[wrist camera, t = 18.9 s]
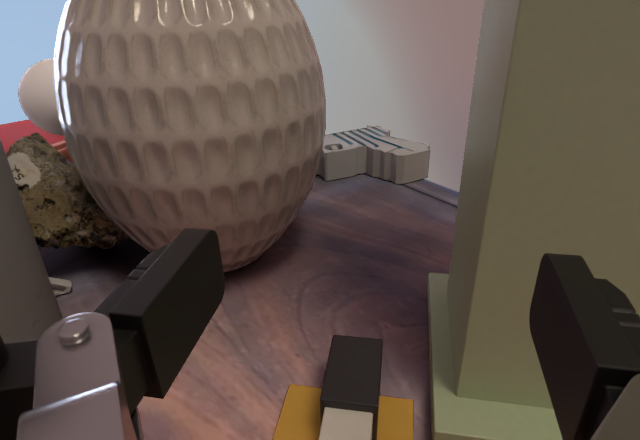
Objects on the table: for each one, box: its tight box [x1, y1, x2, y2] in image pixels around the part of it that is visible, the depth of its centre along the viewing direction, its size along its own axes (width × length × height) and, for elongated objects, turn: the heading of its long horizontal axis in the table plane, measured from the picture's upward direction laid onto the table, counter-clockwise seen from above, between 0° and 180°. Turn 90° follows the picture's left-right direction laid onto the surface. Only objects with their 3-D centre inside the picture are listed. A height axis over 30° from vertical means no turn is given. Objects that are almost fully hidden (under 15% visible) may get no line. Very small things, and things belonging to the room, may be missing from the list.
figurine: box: [18, 59, 64, 136], centre depth 38 cm, size 8×6×12 cm
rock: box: [6, 132, 128, 249], centre depth 33 cm, size 6×9×10 cm
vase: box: [54, 0, 326, 272], centre depth 30 cm, size 16×16×22 cm
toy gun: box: [316, 126, 430, 184], centre depth 48 cm, size 3×14×10 cm
